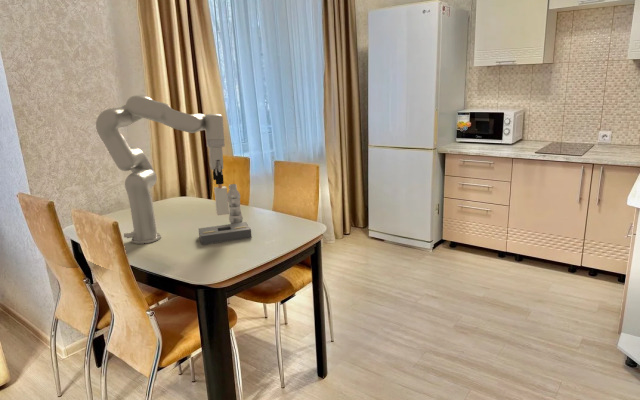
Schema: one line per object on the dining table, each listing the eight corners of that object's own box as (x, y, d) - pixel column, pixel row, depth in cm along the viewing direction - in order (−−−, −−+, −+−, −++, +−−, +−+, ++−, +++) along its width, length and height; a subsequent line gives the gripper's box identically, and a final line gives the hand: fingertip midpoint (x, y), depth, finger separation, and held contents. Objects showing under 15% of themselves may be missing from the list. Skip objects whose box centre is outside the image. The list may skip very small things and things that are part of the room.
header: (201, 245, 193) (200, 235, 192) (199, 236, 204) (198, 227, 203) (251, 237, 200) (250, 228, 199) (246, 229, 211) (245, 221, 210)
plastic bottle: (240, 226, 217) (236, 186, 212) (227, 225, 218) (223, 186, 213) (245, 222, 223) (241, 183, 218) (232, 221, 225) (228, 183, 220)
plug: (217, 215, 196) (214, 180, 192) (216, 213, 200) (213, 178, 196) (229, 214, 198) (225, 179, 194) (227, 211, 202) (224, 177, 198)
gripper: (204, 141, 198) (207, 178, 202) (208, 146, 182) (211, 186, 186) (221, 140, 200) (224, 177, 204) (227, 145, 184) (229, 185, 189)
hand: (218, 181), depth 195 cm, fingers open, 9 cm apart
